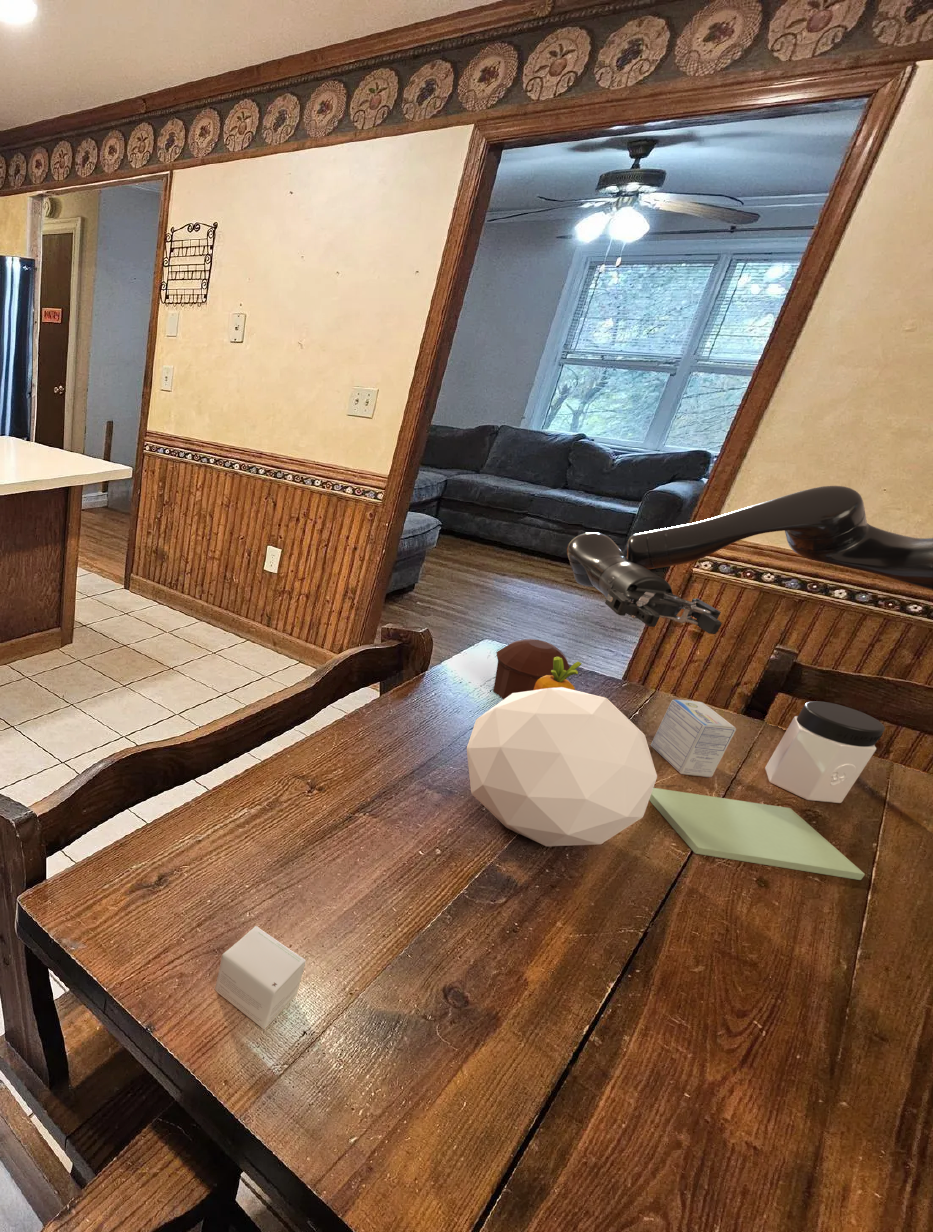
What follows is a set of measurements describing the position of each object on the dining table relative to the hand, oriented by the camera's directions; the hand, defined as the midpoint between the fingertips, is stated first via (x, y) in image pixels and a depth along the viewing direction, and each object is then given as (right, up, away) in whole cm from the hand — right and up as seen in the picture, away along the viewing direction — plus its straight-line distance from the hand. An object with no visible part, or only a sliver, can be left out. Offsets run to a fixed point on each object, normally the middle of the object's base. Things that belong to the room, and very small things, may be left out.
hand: (685, 624), depth 111 cm
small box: (-79, -36, -44) cm, 97 cm away
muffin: (-17, -12, +14) cm, 25 cm away
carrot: (-24, -19, 0) cm, 30 cm away
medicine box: (-3, -21, -3) cm, 21 cm away
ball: (-36, -27, -19) cm, 49 cm away
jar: (+11, -24, -7) cm, 27 cm away
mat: (-8, -28, -18) cm, 34 cm away
